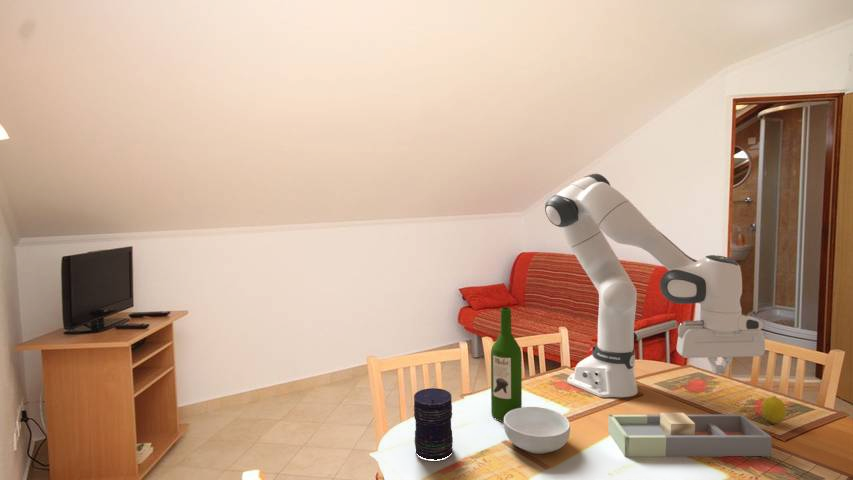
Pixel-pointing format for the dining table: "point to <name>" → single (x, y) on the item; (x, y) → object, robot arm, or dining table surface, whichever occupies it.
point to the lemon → (773, 409)
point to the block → (676, 424)
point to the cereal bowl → (536, 429)
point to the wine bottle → (505, 370)
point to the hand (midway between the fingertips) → (719, 372)
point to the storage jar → (433, 423)
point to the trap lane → (690, 437)
